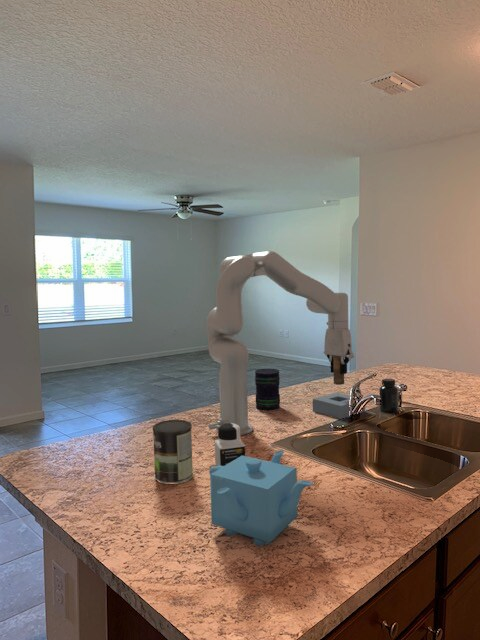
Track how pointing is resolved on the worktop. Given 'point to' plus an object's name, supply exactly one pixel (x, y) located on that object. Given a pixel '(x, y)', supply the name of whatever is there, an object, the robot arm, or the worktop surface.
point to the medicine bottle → (228, 444)
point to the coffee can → (173, 451)
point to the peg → (337, 371)
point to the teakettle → (255, 497)
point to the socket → (333, 405)
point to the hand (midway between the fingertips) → (338, 372)
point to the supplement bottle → (389, 396)
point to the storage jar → (267, 389)
